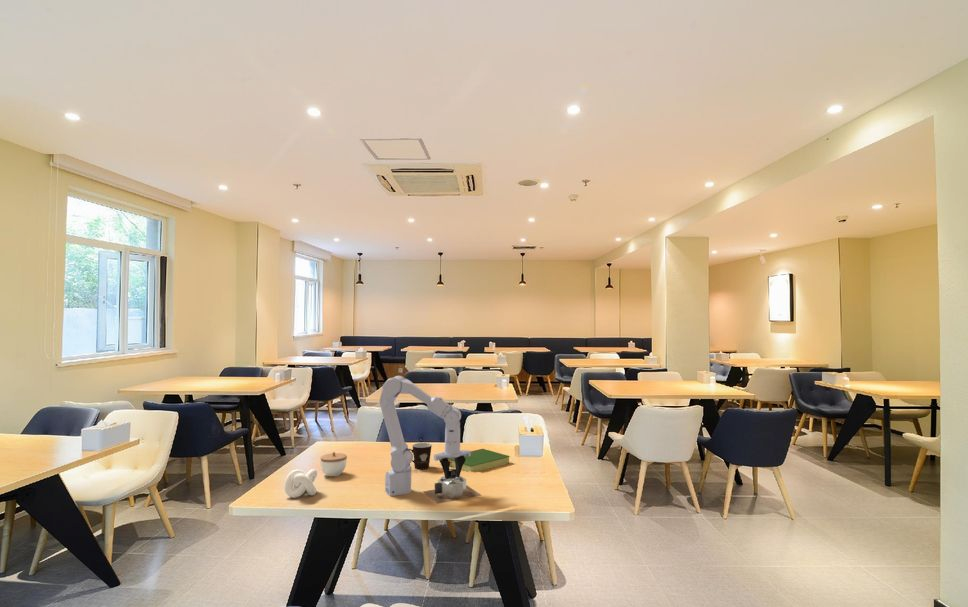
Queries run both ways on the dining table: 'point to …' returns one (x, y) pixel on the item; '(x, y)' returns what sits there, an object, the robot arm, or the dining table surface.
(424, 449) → the coffee mug
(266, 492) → the dining table surface
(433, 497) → the serving board
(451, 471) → the grey knobbed lid
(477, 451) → the hardcover book
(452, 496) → the silver octagonal piece
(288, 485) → the white knot ornament
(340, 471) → the lidded jar
